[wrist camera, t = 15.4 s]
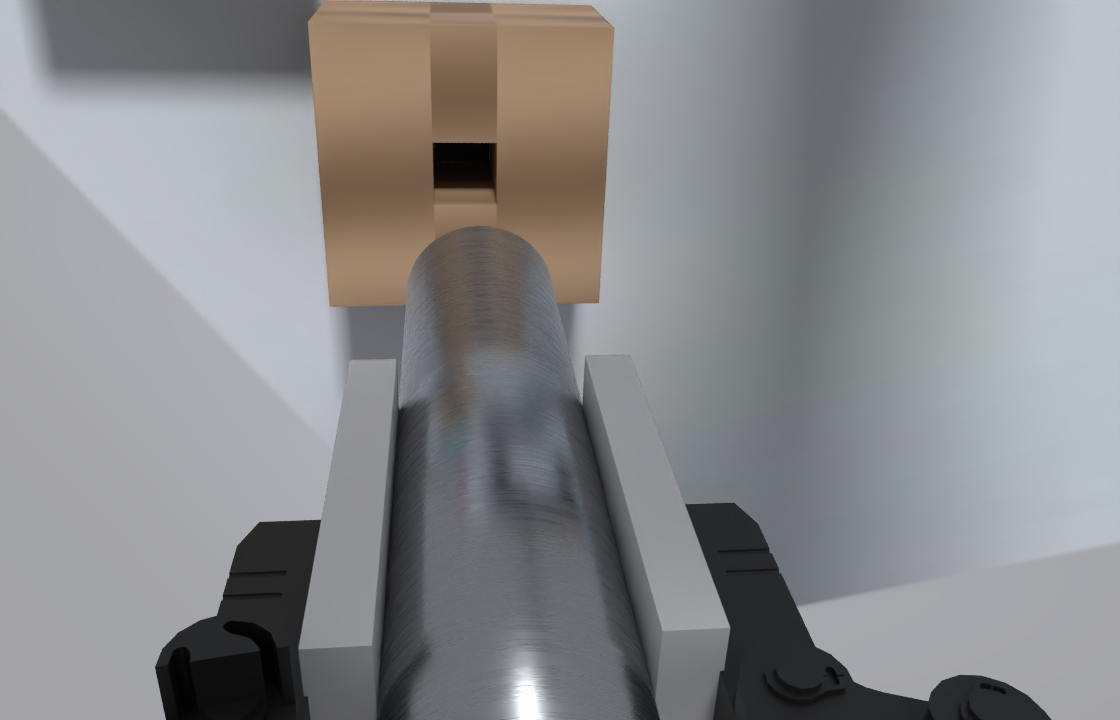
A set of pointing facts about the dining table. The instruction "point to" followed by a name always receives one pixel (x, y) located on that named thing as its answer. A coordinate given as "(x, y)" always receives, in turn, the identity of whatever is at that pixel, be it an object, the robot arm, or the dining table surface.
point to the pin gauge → (499, 508)
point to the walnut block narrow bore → (459, 136)
